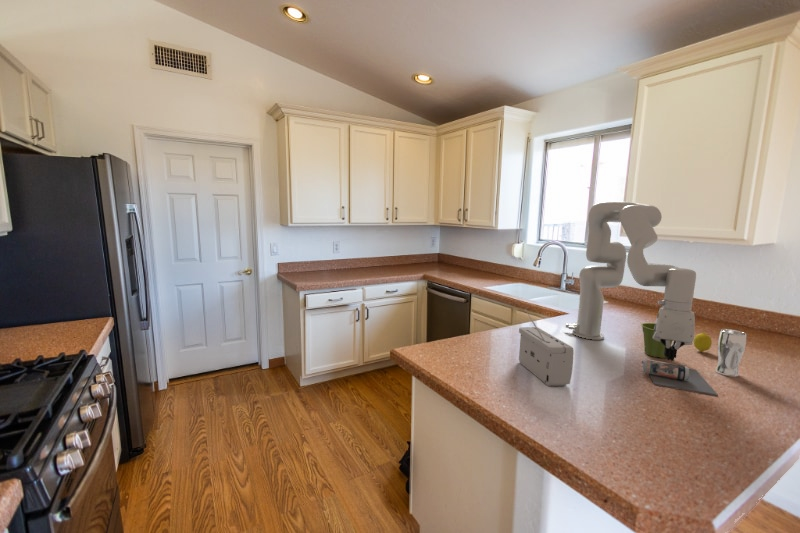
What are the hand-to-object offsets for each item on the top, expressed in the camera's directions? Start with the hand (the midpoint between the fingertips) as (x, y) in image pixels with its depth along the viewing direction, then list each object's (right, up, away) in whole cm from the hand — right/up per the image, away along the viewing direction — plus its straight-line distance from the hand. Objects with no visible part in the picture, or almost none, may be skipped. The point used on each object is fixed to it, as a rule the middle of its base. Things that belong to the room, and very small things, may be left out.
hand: (669, 358), depth 122 cm
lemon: (+31, -4, +25) cm, 40 cm away
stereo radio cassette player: (-43, -5, 0) cm, 43 cm away
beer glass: (+23, -6, +5) cm, 25 cm away
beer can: (-8, -3, +2) cm, 8 cm away
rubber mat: (+2, -6, 0) cm, 7 cm away
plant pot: (+10, -4, +20) cm, 23 cm away
